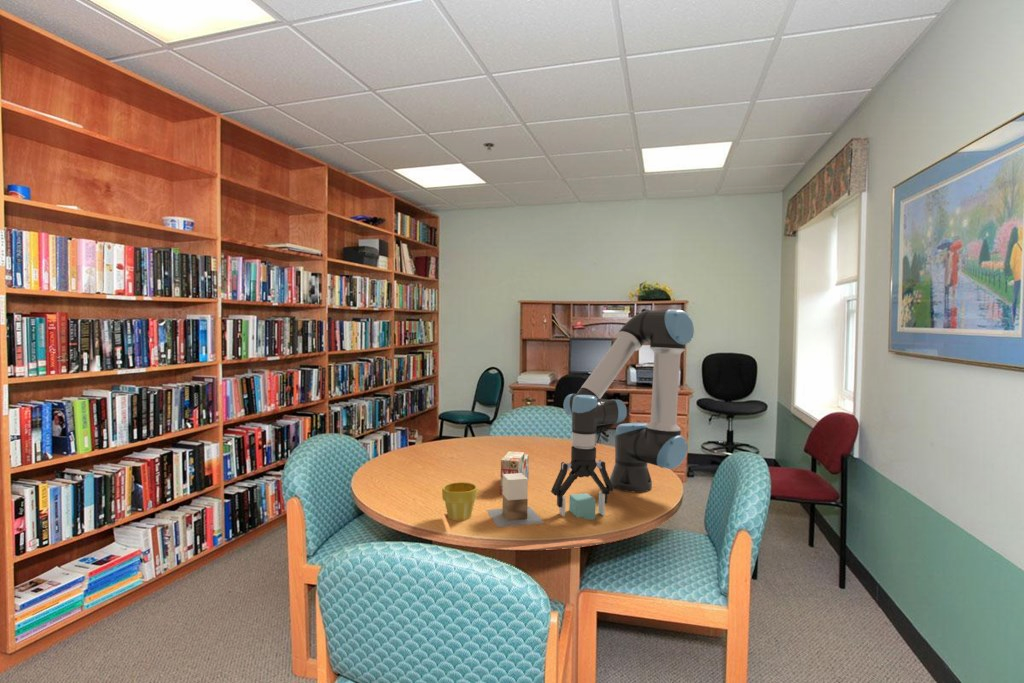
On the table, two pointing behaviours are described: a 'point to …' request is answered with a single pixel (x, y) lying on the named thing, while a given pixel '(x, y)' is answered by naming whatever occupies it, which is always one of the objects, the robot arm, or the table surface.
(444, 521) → the table surface
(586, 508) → the teal cube
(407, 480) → the table surface
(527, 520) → the plate
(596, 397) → the robot arm
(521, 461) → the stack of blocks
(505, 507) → the walnut cube
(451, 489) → the plant pot
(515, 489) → the cream cube
